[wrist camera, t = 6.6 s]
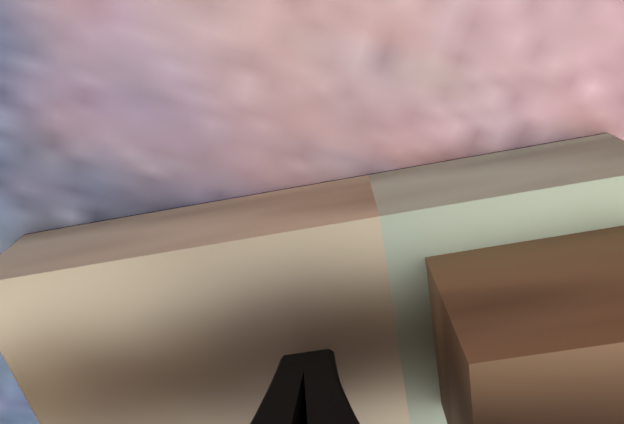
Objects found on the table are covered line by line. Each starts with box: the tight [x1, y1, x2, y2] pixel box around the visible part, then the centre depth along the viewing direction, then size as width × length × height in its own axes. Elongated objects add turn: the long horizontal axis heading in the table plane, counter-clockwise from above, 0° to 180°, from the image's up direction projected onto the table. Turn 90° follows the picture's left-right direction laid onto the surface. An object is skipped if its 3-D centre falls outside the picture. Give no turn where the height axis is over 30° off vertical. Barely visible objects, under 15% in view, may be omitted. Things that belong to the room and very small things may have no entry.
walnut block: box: [425, 225, 624, 424], centre depth 12 cm, size 5×5×4 cm
